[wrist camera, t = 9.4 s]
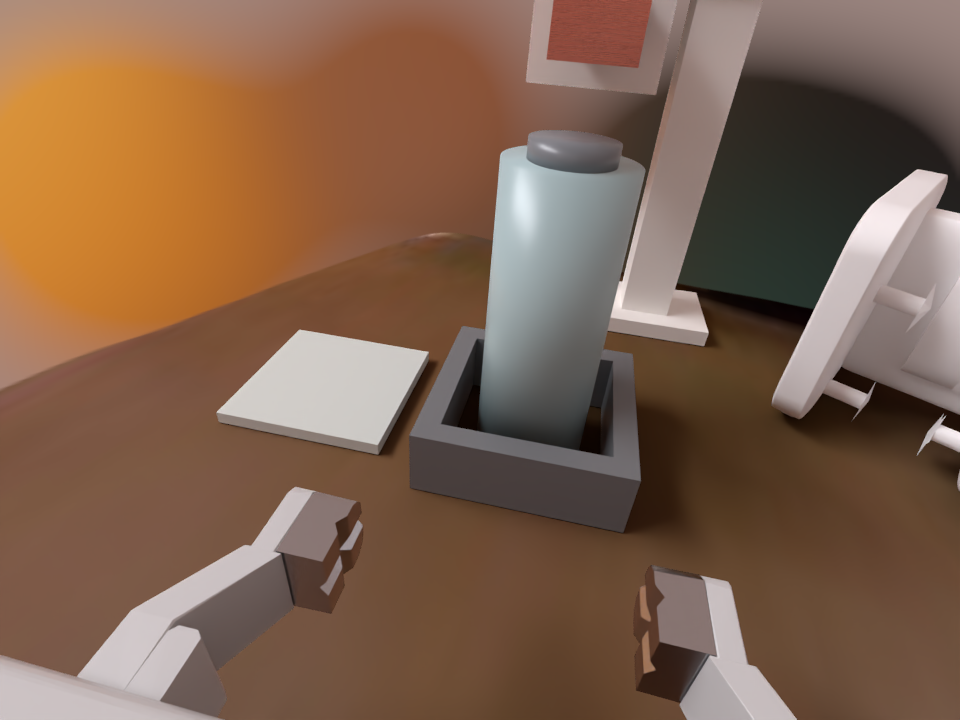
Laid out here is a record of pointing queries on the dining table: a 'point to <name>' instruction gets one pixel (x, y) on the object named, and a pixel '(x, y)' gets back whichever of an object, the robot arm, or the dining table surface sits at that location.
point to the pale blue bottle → (553, 282)
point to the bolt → (598, 31)
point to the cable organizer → (888, 310)
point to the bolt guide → (666, 148)
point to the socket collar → (529, 448)
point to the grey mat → (329, 391)
